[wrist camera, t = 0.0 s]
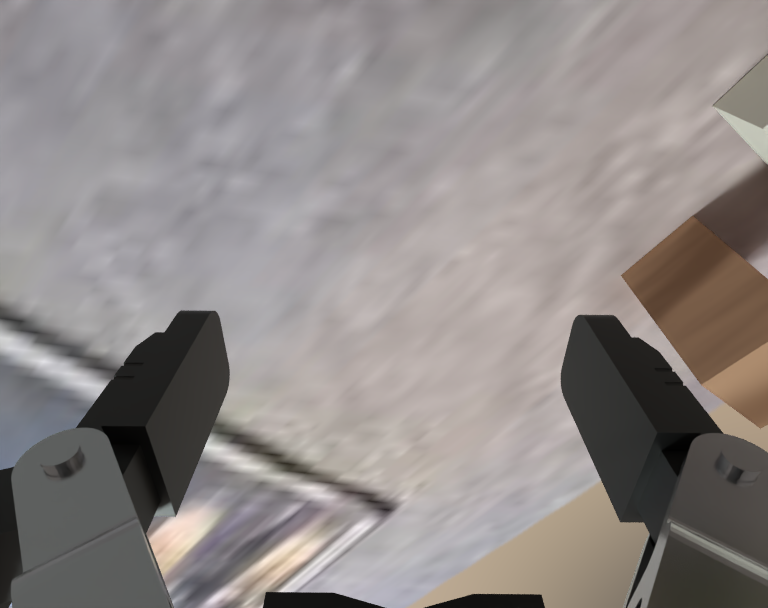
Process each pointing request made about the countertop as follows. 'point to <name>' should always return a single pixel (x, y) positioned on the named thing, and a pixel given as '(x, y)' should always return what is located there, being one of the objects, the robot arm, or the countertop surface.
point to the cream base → (749, 108)
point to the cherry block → (710, 313)
